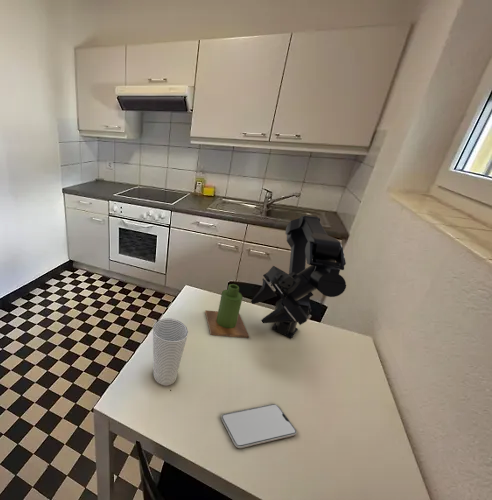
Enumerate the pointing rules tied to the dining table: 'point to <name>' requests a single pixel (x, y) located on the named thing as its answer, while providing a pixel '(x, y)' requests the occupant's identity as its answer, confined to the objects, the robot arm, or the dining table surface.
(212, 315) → the trivet
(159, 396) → the dining table surface
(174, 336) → the cup
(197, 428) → the dining table surface
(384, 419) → the dining table surface
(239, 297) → the oil bottle
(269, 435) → the smartphone
